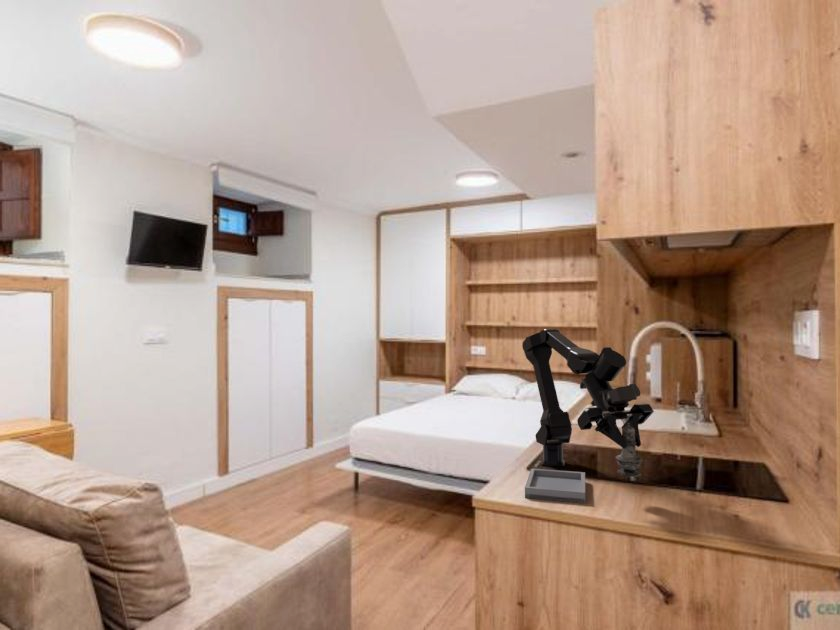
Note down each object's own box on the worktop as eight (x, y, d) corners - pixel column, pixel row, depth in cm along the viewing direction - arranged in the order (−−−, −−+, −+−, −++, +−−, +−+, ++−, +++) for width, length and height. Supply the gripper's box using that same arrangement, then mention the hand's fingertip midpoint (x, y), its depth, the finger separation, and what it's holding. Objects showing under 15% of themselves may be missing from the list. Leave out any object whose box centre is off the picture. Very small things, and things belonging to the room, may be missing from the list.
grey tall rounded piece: (610, 471, 122) (609, 421, 122) (629, 468, 124) (629, 419, 124) (628, 478, 117) (627, 426, 117) (648, 475, 119) (647, 424, 119)
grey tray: (531, 477, 139) (531, 468, 139) (585, 481, 135) (584, 472, 135) (525, 497, 124) (524, 487, 124) (585, 503, 119) (585, 492, 119)
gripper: (584, 374, 121) (615, 431, 111) (648, 371, 127) (683, 424, 116) (565, 402, 129) (592, 457, 118) (626, 397, 134) (658, 449, 124)
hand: (632, 446), depth 119 cm, fingers closed on grey tall rounded piece, 4 cm apart
